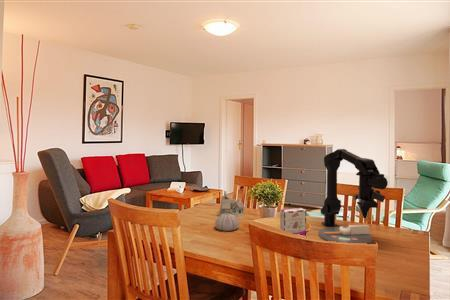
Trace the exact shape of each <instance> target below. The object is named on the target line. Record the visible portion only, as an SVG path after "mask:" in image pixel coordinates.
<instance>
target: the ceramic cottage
mask: <svg viewBox="0 0 450 300" xmlns="http://www.w3.org/2000/svg"><path fill="white" fill-rule="evenodd" d="M244 209H245V206H244V202H242V201H240V198H237V199H235V198H234V199H233V198H232V199H231V198H230V197H229V195H228V194H227V190H224V191H223V195H221V199H220V207H219V210H218V214H217V218H218V217H219V216H220V215H222V214H226V213H229V214H233V215H234V216H236V218H238V217H242V216H244V215H245V212H244Z"/></svg>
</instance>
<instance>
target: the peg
mask: <svg viewBox="0 0 450 300" xmlns="http://www.w3.org/2000/svg"><path fill="white" fill-rule="evenodd" d="M339 227H340V230H339V232H324V234H342V235H350V234H370V226H369V225H368V224H348V226H343V225H340V226H339Z"/></svg>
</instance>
